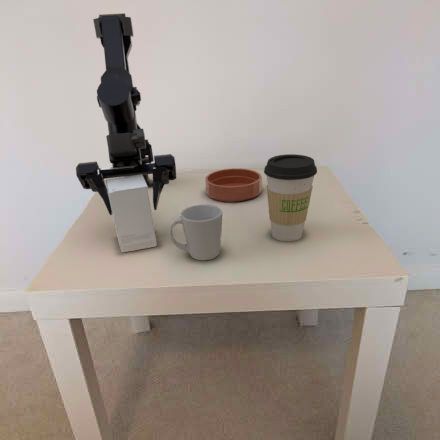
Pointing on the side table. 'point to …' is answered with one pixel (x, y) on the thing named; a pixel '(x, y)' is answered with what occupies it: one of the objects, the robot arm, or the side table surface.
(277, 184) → the coffee cup
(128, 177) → the white packaging box
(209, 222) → the cup
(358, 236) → the side table surface
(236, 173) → the bowl
